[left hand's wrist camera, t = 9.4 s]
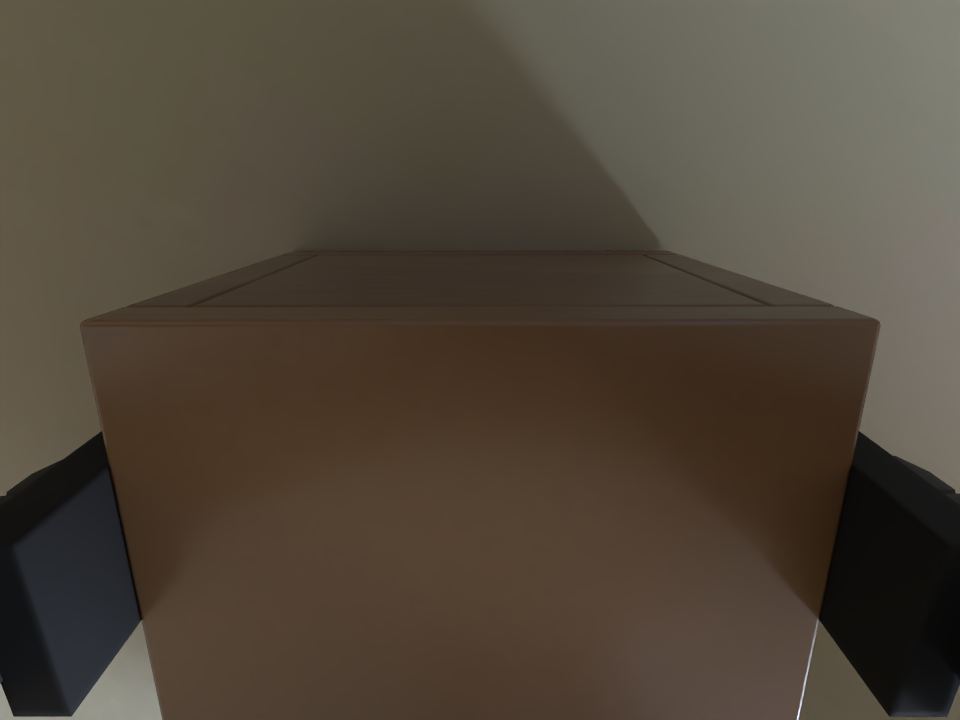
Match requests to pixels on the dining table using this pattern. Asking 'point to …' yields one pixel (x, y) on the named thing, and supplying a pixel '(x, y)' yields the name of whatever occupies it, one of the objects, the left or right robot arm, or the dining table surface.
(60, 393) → the dining table surface
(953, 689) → the left robot arm
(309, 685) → the cabinet
